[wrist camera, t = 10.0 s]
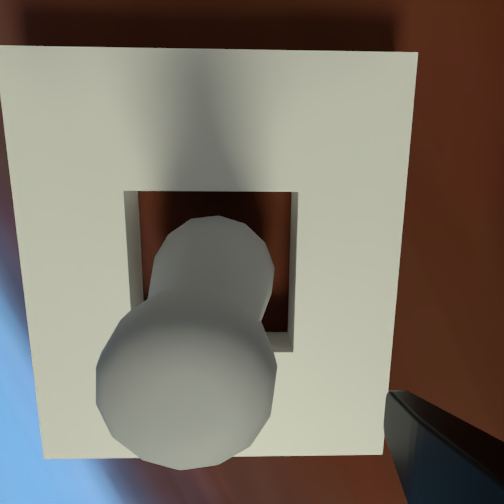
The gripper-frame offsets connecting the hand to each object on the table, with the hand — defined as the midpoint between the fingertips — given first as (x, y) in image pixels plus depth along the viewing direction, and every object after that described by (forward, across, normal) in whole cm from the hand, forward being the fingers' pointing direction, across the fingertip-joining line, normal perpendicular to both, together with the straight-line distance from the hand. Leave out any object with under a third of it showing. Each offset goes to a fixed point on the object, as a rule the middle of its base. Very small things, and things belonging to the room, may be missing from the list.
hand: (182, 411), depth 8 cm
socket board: (+13, 0, 0) cm, 13 cm away
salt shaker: (+13, 0, 0) cm, 13 cm away
